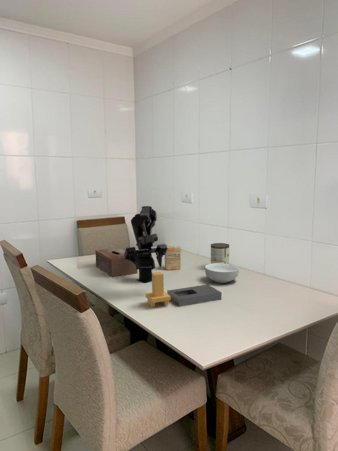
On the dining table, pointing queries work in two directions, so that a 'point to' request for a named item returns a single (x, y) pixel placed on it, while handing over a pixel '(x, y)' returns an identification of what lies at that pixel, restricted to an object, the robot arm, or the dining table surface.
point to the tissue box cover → (114, 262)
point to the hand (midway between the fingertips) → (150, 268)
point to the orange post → (157, 291)
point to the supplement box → (173, 258)
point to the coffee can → (220, 253)
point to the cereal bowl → (221, 272)
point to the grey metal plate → (194, 295)
